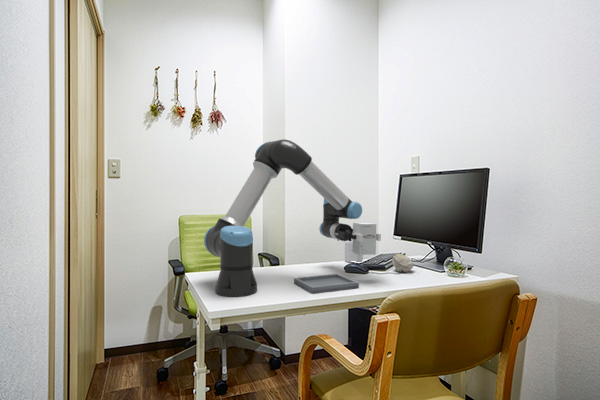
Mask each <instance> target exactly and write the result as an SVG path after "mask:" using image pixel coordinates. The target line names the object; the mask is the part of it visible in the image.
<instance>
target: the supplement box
mask: <svg viewBox="0 0 600 400" xmlns="http://www.w3.org/2000/svg"><path fill="white" fill-rule="evenodd" d="M352 229H353V233H356V234H361V235H363V242H360V241H355V240H353V247H352V252H353V253H355V254H358V255H363V256H365V255H367V256H370V255H374V256H375V255H376V253H377V240H376V233H377V223H374V222H352Z"/></svg>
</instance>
